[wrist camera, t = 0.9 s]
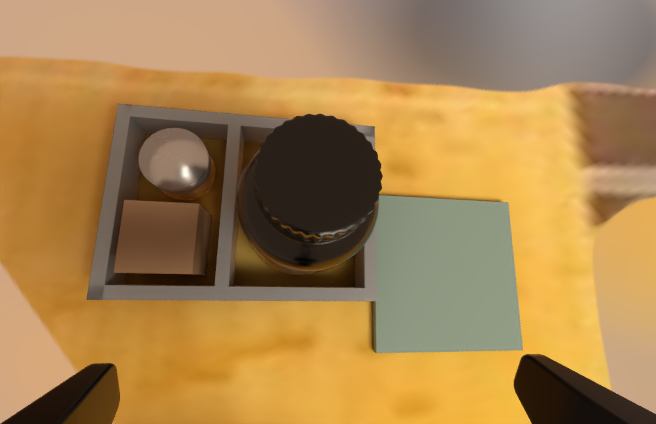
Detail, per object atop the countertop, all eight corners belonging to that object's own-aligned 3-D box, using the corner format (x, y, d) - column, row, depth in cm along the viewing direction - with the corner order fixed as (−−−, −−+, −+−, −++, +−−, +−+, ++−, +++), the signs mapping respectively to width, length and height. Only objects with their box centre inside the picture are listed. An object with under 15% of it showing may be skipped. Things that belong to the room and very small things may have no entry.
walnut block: (207, 274, 22) (192, 273, 18) (143, 273, 21) (113, 272, 17) (212, 216, 22) (199, 203, 19) (151, 213, 22) (124, 199, 18)
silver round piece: (213, 202, 23) (204, 191, 20) (152, 199, 22) (134, 187, 19) (218, 148, 23) (210, 130, 21) (159, 144, 23) (143, 125, 20)
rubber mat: (516, 348, 24) (522, 350, 23) (373, 351, 22) (376, 353, 22) (503, 204, 26) (508, 202, 26) (371, 196, 24) (374, 194, 24)
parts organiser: (366, 298, 23) (377, 301, 20) (109, 296, 20) (86, 299, 18) (365, 140, 25) (374, 126, 23) (134, 122, 23) (118, 103, 20)
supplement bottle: (362, 244, 24) (444, 212, 12) (280, 293, 22) (283, 312, 10) (315, 165, 24) (350, 62, 13) (231, 208, 23) (185, 135, 11)
